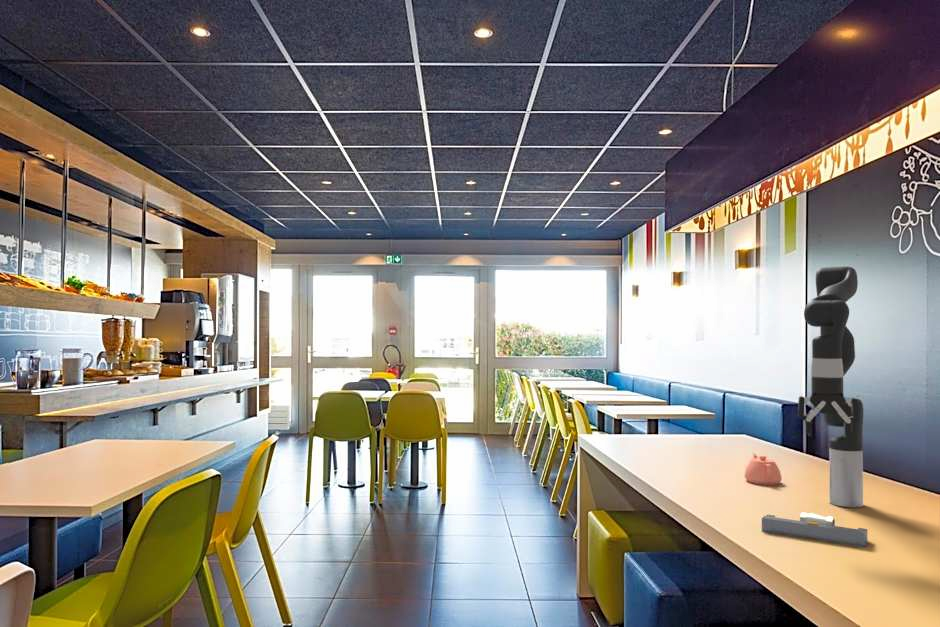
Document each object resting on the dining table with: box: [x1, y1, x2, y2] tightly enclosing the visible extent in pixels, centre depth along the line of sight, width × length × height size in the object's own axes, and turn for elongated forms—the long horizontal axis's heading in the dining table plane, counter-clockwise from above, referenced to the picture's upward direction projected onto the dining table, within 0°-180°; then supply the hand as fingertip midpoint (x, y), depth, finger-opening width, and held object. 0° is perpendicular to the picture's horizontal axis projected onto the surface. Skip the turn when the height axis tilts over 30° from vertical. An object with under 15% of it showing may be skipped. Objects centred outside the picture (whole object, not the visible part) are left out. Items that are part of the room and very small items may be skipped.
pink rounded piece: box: [744, 452, 782, 486], centre depth 249 cm, size 12×18×10 cm
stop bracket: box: [761, 514, 868, 548], centre depth 180 cm, size 7×24×4 cm, turn 56°
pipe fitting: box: [799, 511, 836, 526], centre depth 189 cm, size 8×4×7 cm
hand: (827, 436), depth 182 cm, fingers open, 8 cm apart
